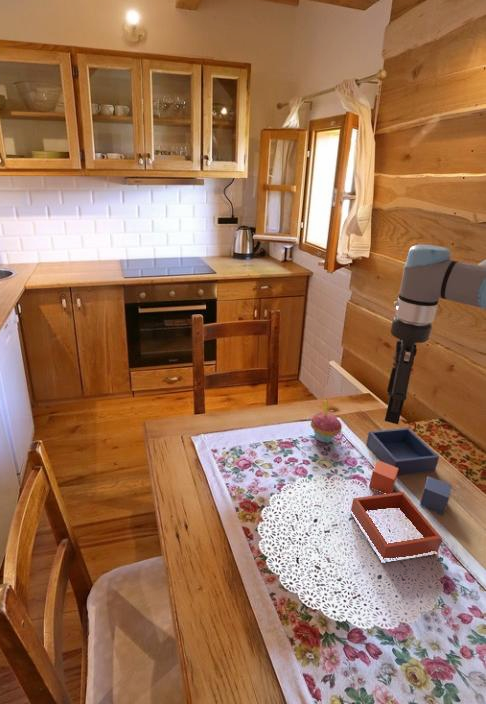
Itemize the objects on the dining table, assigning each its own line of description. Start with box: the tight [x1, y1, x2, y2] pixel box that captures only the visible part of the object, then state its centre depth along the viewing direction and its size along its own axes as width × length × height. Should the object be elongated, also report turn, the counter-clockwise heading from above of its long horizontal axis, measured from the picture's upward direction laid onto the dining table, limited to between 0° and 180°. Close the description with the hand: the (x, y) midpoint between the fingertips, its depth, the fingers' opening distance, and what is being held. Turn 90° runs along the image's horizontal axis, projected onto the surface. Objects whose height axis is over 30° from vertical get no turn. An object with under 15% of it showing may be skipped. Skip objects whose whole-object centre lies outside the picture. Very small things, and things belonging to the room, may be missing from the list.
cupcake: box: [310, 399, 343, 443], centre depth 115 cm, size 9×8×12 cm
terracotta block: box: [368, 459, 399, 494], centre depth 99 cm, size 5×5×5 cm
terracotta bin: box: [350, 491, 443, 559], centre depth 86 cm, size 13×13×4 cm
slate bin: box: [365, 427, 440, 476], centre depth 110 cm, size 13×13×4 cm
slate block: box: [419, 475, 452, 516], centre depth 95 cm, size 5×5×5 cm
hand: (392, 406), depth 93 cm, fingers open, 13 cm apart
